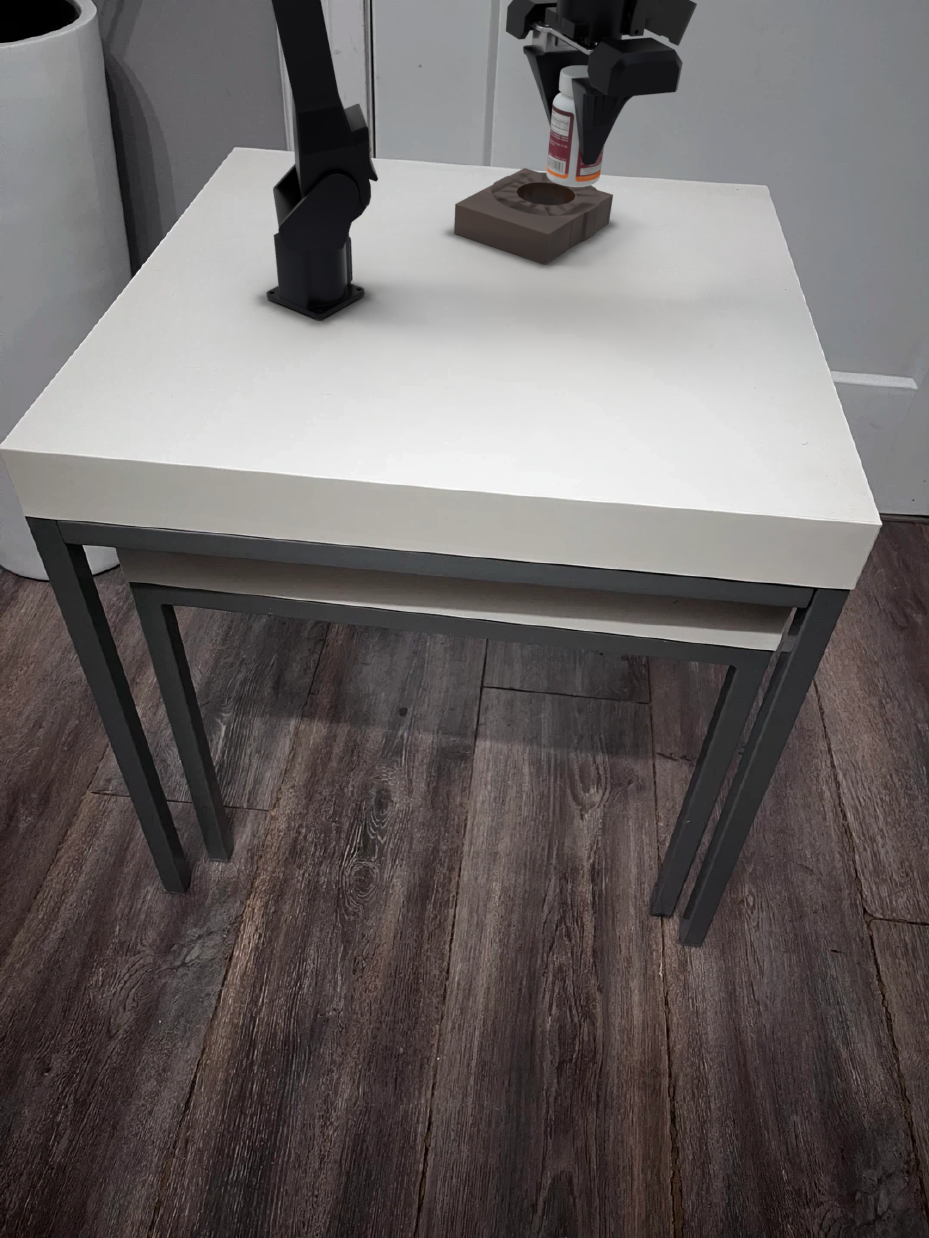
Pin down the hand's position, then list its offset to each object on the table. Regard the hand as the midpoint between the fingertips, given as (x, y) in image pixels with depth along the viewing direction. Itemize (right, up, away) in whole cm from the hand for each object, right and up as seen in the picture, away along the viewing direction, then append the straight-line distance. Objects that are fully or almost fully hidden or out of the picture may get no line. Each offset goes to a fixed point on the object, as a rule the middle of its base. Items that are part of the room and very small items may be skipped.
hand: (574, 154), depth 83 cm
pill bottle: (0, -2, +2) cm, 2 cm away
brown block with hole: (-2, +1, +17) cm, 18 cm away
